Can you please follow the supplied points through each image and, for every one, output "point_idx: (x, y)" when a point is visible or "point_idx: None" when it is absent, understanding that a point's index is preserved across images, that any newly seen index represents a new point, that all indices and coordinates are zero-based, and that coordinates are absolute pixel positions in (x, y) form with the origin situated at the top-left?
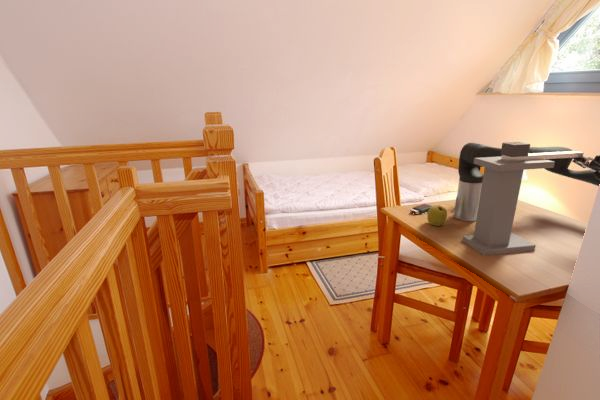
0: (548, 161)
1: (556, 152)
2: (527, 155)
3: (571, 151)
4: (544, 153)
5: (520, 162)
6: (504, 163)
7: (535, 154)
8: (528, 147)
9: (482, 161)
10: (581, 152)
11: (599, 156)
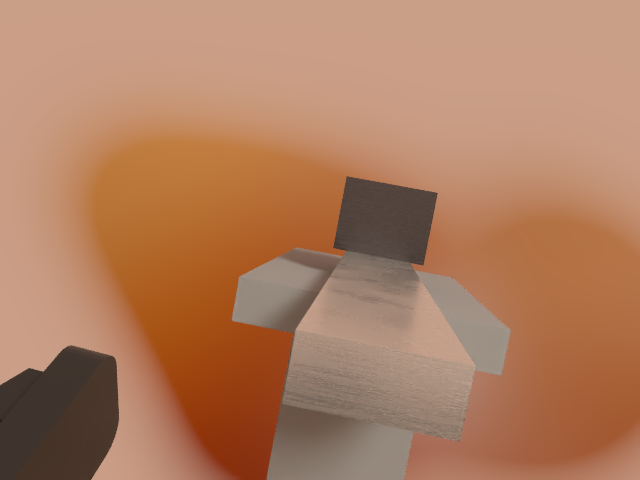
0: (262, 275)
1: (404, 295)
2: (334, 243)
3: (427, 336)
4: (384, 274)
5: (303, 261)
6: (312, 254)
7: (368, 262)
8: (343, 195)
9: None
10: (314, 326)
11: (59, 369)
